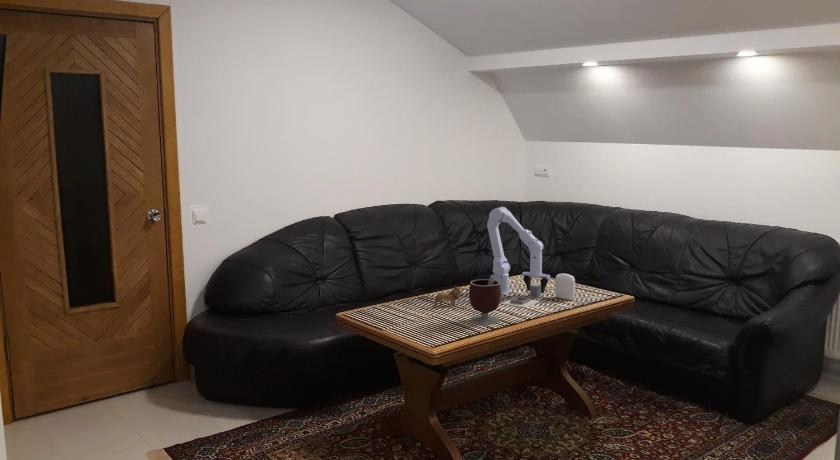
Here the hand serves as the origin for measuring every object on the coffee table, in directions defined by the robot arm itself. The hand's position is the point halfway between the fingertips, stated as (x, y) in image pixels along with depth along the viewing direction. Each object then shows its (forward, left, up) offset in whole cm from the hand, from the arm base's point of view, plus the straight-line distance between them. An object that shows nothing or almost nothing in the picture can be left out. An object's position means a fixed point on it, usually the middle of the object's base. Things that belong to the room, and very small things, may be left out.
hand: (535, 291), depth 324 cm
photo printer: (+14, +4, -2) cm, 15 cm away
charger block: (0, 0, -2) cm, 2 cm away
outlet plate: (0, -16, -2) cm, 16 cm away
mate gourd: (+2, -51, -2) cm, 51 cm away
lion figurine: (-26, -41, -2) cm, 48 cm away
